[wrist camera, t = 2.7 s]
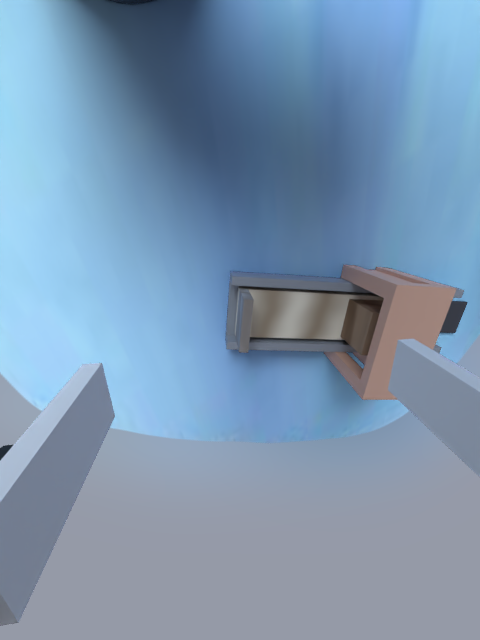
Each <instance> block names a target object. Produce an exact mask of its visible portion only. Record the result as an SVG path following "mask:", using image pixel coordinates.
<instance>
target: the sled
mask: <svg viewBox="0 0 480 640" xmlns="http://www.w3.org/2000/svg"><path fill="white" fill-rule="evenodd" d="M383 300H384V298H383V297H381V296H378V295H376V294H370V293H352V292H333V291H315V290H297V289H279V288H261V287H242V286H238V297H237V309H236V321H235V337H236V341H237V346H238V350H239V352H244V353H248V349H249V339H250V337H264V338H298V339H332V340H345V341H346V342H347V343H348V344H349V345H350V346H351V347H353V348H354V349H355V350H356V351H357V352H358V353H359V354H360V355H368V352H369V348H370V345H371V341H372V338H373V334H374V331H375V327H376V324H377V321H378V317H379V314H380V310H381V307H382V303H383Z"/></svg>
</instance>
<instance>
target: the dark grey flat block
mask: <svg viewBox="0 0 480 640" xmlns="http://www.w3.org/2000/svg"><path fill="white" fill-rule="evenodd" d="M466 305H467V302H461V301H452V302H451V305H450V307H449V310H448V312H447V315H446V318H445V320H444V323H443V325H442V328H441V331H440V332H445V333H455V332H456V329H457V327H458V324H459V322H460V320H461V317H462V315H463V312H464V310H465V307H466Z"/></svg>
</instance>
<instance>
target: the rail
mask: <svg viewBox="0 0 480 640" xmlns="http://www.w3.org/2000/svg"><path fill="white" fill-rule="evenodd" d="M238 286H242V287H261V288H279V289H297V290H315V291H333V292H352V293H370V294H374V293H372V292H370V291H368V290H366V289H364V288H362V287H360V286H358V285H356V284H353V283H351V282H349V281H347V280H345V279H343V278H330V277H314V276H298V275H282V274H266V273H250V272H234V271H230V281H229V295H228V309H227V323H226V337H225V340H226V348H227V349H233V350H238V346H237V341H236V337H235V321H236V309H237V297H238ZM447 286H448V285H447ZM450 287H452V286H450ZM454 288H455V287H454ZM463 292H464V290H462V289H459V288H457V289H456V292H455V294H454V297H453V298H461V297H462V295H463ZM248 350H277V351H321V352H357V351H356V350H355V349H354V348H353V347H351V346H350V345H349V344H348V343H347V342H346V341H345V340H332V339H298V338H264V337H250V339H249V349H248ZM433 350H434V351H435V352H437V353H439V352H440V350H441V347H439V346H438V345H436V344H435V346H434V349H433Z"/></svg>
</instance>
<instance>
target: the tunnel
mask: <svg viewBox="0 0 480 640" xmlns="http://www.w3.org/2000/svg"><path fill="white" fill-rule="evenodd" d="M341 278H343V279H345V280H347V281H349V282H351V283H353V284H356V285H358V286H360V287H362V288H364V289H366V290H368V291H370V292H372V293H374V294H376V295H378V296H381V297H383V298H384V300H383V303H382V307H381V310H380V314H379V317H378V321H377V324H376V327H375V331H374V334H373V338H372V341H371V345H370V348H369V352H368V355H360V354H359V353H358V352H353V354H354V355H355V356H356V357H357V358H358V359H359V360H360V361H361V362H362V363H363V364H364V369H362V368H361V367H360V366H359V365H358V364H357V363H356V362H355V361H354V360H353V359H352V358H351V357H350V356H349V355H348V354H347V353H346V352H324V354H325V355H326V356H327V358H328V359H329V360H330V361H331V362H332V364H333V365H334V366H335V367H336V368H337V370H338V371H339V372H340V373H341V374H342V376H343V377H344V378H345V379H346V380H347V382H348V383H349V384H350V385H351V386H352V388H353V389H354V390H355V391H356V392H357V394H358V395H359V396H360V397H361V398H362V400H398V399H397V398H396V397H395V396H394V395H393V394H392V393H391V392H390V391H388V386H389V381H390V376H391V371H392V367H393V362H394V357H395V352H396V347H397V342H398V340H402V339H415V340H417V341H418V342H420V343H422V344H424V345H425V346H427V347H429V348H430V349H432V350H433V349H434V346H435V343H436V341H437V338H438V336H439V333H440V331H441V328H442V325H443V323H444V320H445V318H446V315H447V312H448V310H449V307H450V305H451V302H452V300H453V297H454V294H455V292H456V289H457V288H454V287H450V286H447V285H444V284H440V283H437V282H434V281H430V280H427V279H424V278H420V277H417V276H414V275H410V274H407V273H404V272H400V271H397V270H394V269H390V268H385V267H376V269H375V270H367V269H364V268H361V267H358V266H356V265H343V269H342V273H341Z"/></svg>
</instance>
